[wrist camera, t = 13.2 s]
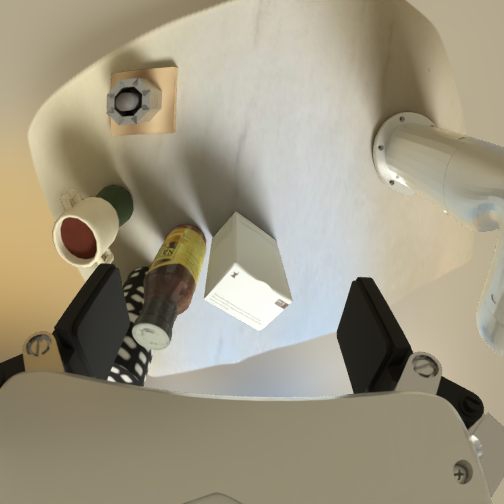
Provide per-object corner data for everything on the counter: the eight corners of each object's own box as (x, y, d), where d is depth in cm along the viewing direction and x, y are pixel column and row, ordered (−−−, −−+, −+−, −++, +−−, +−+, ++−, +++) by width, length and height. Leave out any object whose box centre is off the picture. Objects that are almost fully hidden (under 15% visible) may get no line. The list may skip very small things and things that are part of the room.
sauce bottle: (182, 214, 42) (138, 297, 24) (216, 239, 44) (196, 333, 26) (159, 245, 44) (112, 335, 26) (191, 268, 46) (163, 365, 28)
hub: (163, 79, 31) (151, 76, 27) (161, 120, 34) (149, 123, 29) (123, 83, 31) (107, 81, 27) (122, 123, 33) (106, 126, 29)
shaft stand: (177, 68, 32) (163, 61, 25) (175, 131, 36) (160, 137, 30) (116, 74, 31) (92, 70, 25) (115, 134, 36) (91, 141, 29)
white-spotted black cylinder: (119, 273, 46) (68, 359, 29) (159, 261, 45) (116, 354, 28) (141, 310, 50) (106, 399, 33) (181, 301, 49) (154, 397, 31)
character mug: (84, 183, 39) (35, 214, 27) (118, 161, 37) (71, 187, 26) (116, 241, 44) (80, 287, 32) (151, 225, 42) (119, 270, 31)
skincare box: (212, 237, 43) (197, 298, 30) (237, 207, 41) (231, 260, 28) (255, 268, 46) (257, 335, 33) (281, 241, 44) (294, 303, 31)
